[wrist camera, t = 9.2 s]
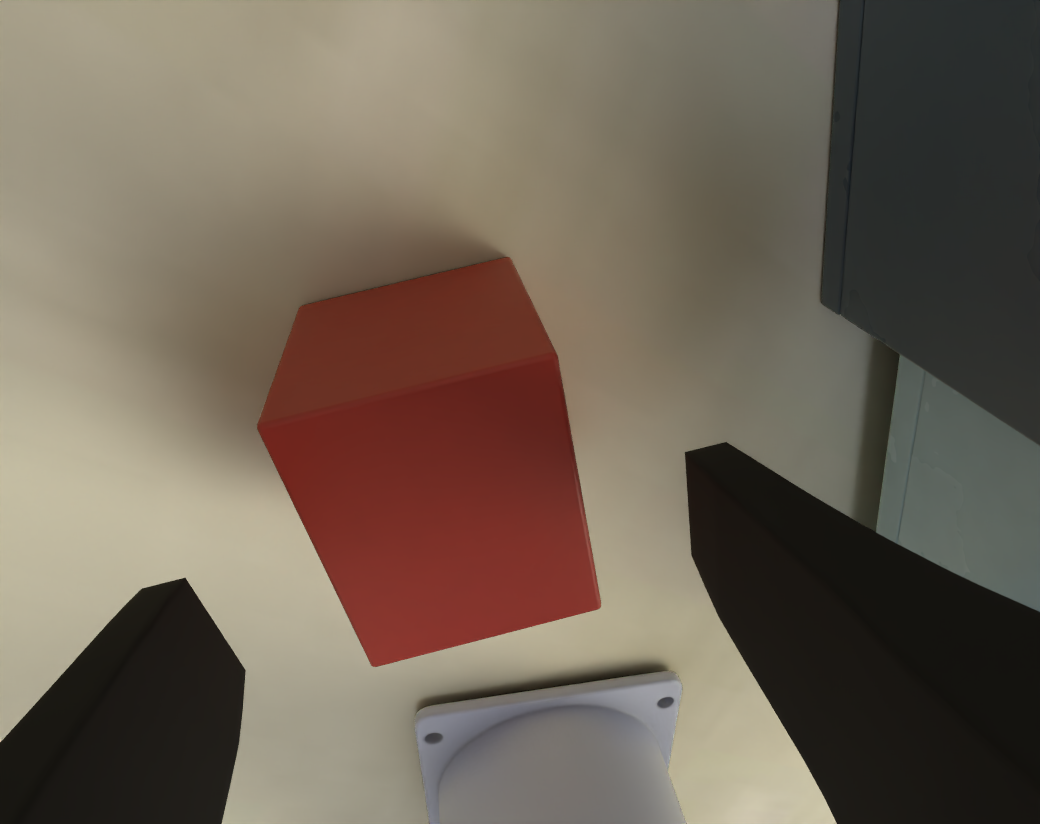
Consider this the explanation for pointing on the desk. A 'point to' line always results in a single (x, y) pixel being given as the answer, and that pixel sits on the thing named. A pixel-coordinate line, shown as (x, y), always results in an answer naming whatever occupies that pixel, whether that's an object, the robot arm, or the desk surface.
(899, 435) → the drawer
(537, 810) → the robot arm
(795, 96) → the desk surface
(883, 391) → the desk surface
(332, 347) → the block
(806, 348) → the desk surface
